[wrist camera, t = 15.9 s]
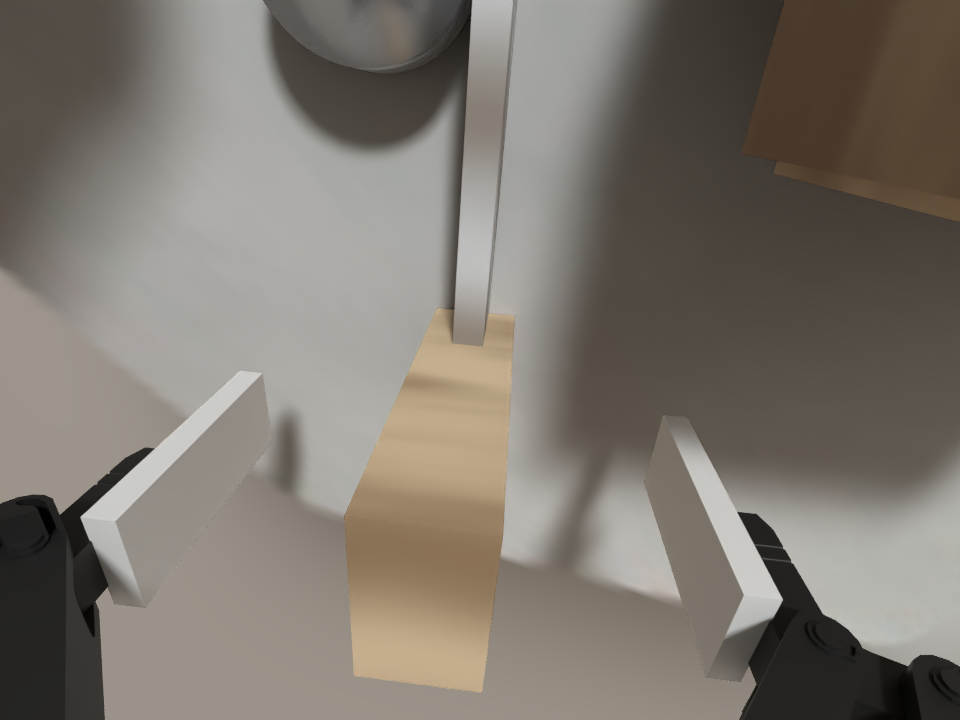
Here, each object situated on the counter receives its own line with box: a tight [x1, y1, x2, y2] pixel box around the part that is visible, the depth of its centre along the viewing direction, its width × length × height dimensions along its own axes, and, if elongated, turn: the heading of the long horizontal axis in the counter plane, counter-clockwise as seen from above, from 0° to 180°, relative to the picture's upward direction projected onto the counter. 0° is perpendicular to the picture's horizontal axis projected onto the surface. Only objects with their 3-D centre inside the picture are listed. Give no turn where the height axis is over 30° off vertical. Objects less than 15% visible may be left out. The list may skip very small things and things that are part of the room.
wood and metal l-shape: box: [344, 0, 517, 692], centre depth 12 cm, size 18×3×11 cm, turn 176°
